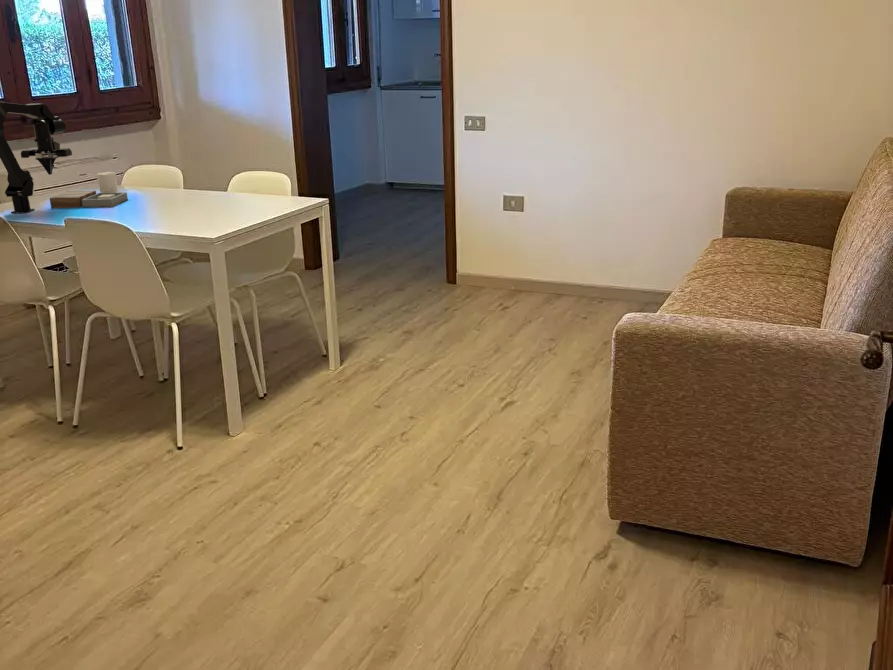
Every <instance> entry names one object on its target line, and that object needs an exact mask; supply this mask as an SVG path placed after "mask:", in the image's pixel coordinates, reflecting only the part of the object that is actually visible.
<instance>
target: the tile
mask: <svg viewBox="0 0 893 670" xmlns="http://www.w3.org/2000/svg"><path fill="white" fill-rule="evenodd" d="M113 197H115V194H109V195H101V196H98V199H111V198H113Z"/></svg>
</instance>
